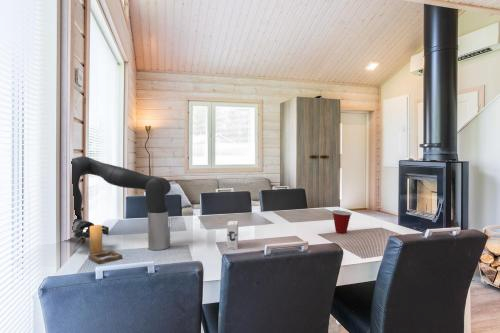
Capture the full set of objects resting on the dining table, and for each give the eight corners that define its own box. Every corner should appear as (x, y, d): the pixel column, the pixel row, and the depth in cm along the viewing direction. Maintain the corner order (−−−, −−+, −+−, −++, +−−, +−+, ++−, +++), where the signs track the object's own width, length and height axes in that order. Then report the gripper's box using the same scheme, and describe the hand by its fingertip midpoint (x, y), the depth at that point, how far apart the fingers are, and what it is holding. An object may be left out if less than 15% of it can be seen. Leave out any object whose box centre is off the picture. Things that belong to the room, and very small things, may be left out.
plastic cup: (351, 235, 175) (351, 213, 174) (331, 234, 178) (331, 212, 178) (351, 231, 185) (352, 210, 184) (332, 229, 188) (332, 209, 188)
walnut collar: (111, 253, 143) (111, 250, 143) (122, 258, 137) (122, 254, 137) (88, 258, 136) (88, 255, 136) (98, 264, 129) (98, 260, 129)
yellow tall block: (99, 250, 148) (99, 224, 148) (104, 252, 145) (103, 226, 144) (88, 252, 145) (87, 226, 144) (93, 255, 141) (92, 228, 141)
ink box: (228, 244, 158) (228, 220, 158) (238, 244, 158) (238, 220, 158) (226, 249, 150) (226, 224, 149) (237, 249, 150) (237, 224, 149)
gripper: (67, 223, 149) (80, 228, 138) (98, 218, 159) (113, 223, 148) (67, 239, 149) (81, 246, 138) (99, 233, 159) (114, 239, 148)
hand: (98, 234), depth 143 cm, fingers open, 7 cm apart
